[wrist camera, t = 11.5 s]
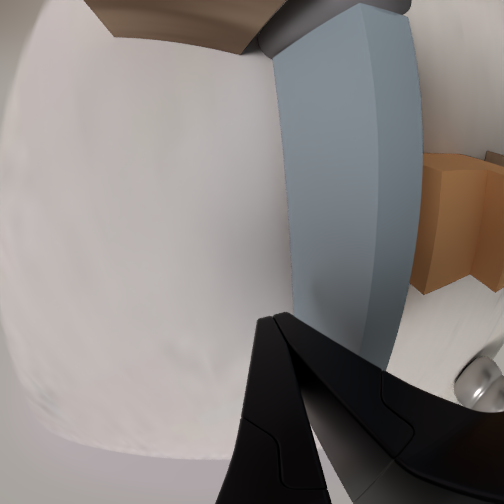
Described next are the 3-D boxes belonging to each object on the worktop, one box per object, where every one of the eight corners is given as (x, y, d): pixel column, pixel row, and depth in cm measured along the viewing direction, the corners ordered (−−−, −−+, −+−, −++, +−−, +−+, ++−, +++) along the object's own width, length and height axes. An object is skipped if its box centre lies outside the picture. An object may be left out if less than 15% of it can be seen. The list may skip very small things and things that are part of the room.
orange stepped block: (310, 268, 13) (379, 354, 8) (305, 158, 11) (405, 192, 5) (450, 233, 14) (519, 275, 9) (458, 153, 12) (539, 180, 7)
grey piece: (255, 21, 7) (327, -62, 2) (302, 22, 8) (399, -38, 2) (286, 349, 14) (329, 441, 9) (318, 340, 14) (369, 425, 9)
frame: (511, 178, 14) (569, 203, 8) (505, 201, 14) (562, 230, 9) (132, -6, 6) (96, -100, 1) (114, 37, 7) (48, -41, 1)
